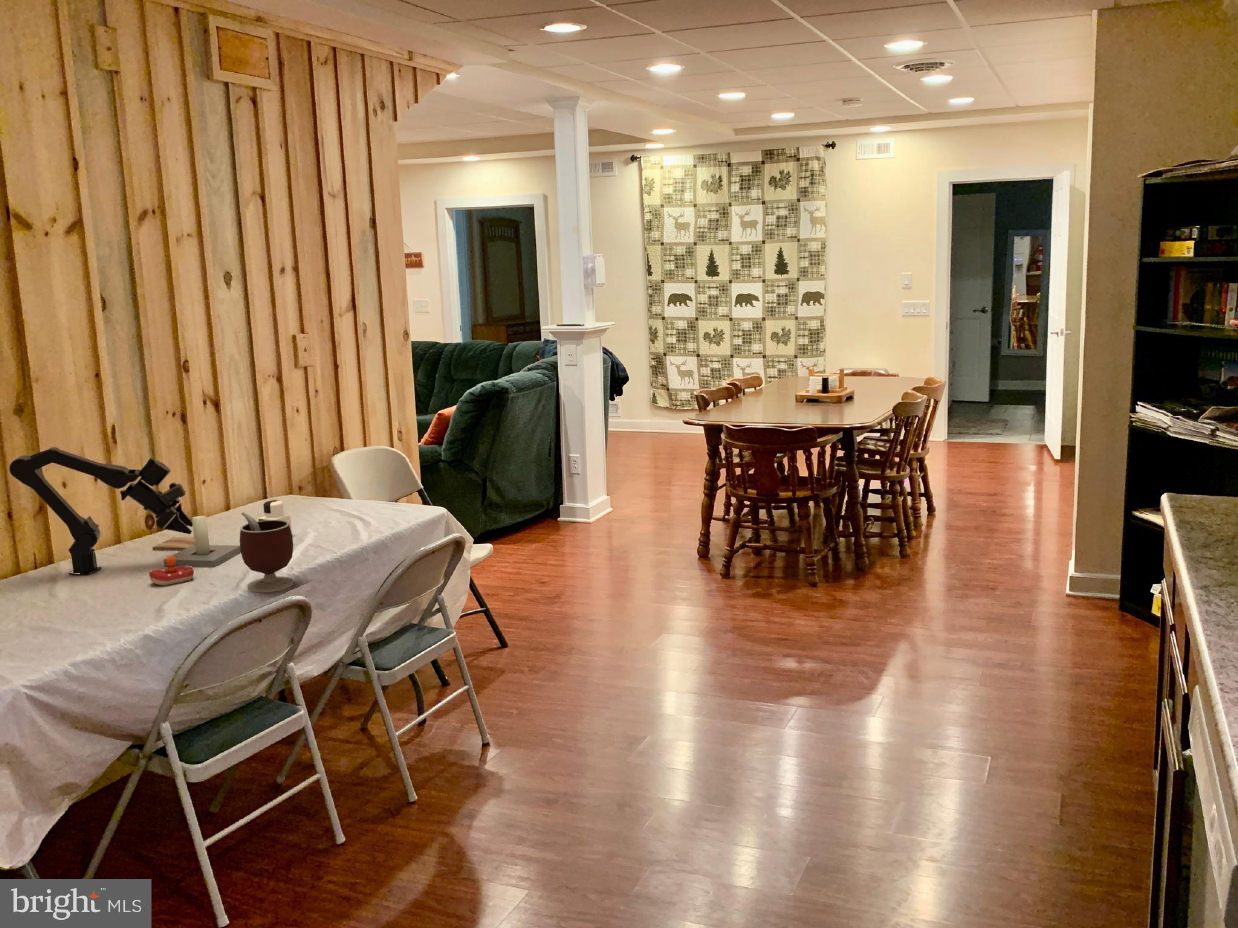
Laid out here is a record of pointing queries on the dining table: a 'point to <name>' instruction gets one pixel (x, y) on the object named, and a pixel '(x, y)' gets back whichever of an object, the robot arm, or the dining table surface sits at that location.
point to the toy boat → (171, 573)
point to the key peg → (201, 535)
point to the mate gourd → (266, 552)
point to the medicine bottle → (275, 512)
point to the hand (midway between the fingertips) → (191, 529)
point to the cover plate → (205, 556)
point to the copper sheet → (175, 544)
